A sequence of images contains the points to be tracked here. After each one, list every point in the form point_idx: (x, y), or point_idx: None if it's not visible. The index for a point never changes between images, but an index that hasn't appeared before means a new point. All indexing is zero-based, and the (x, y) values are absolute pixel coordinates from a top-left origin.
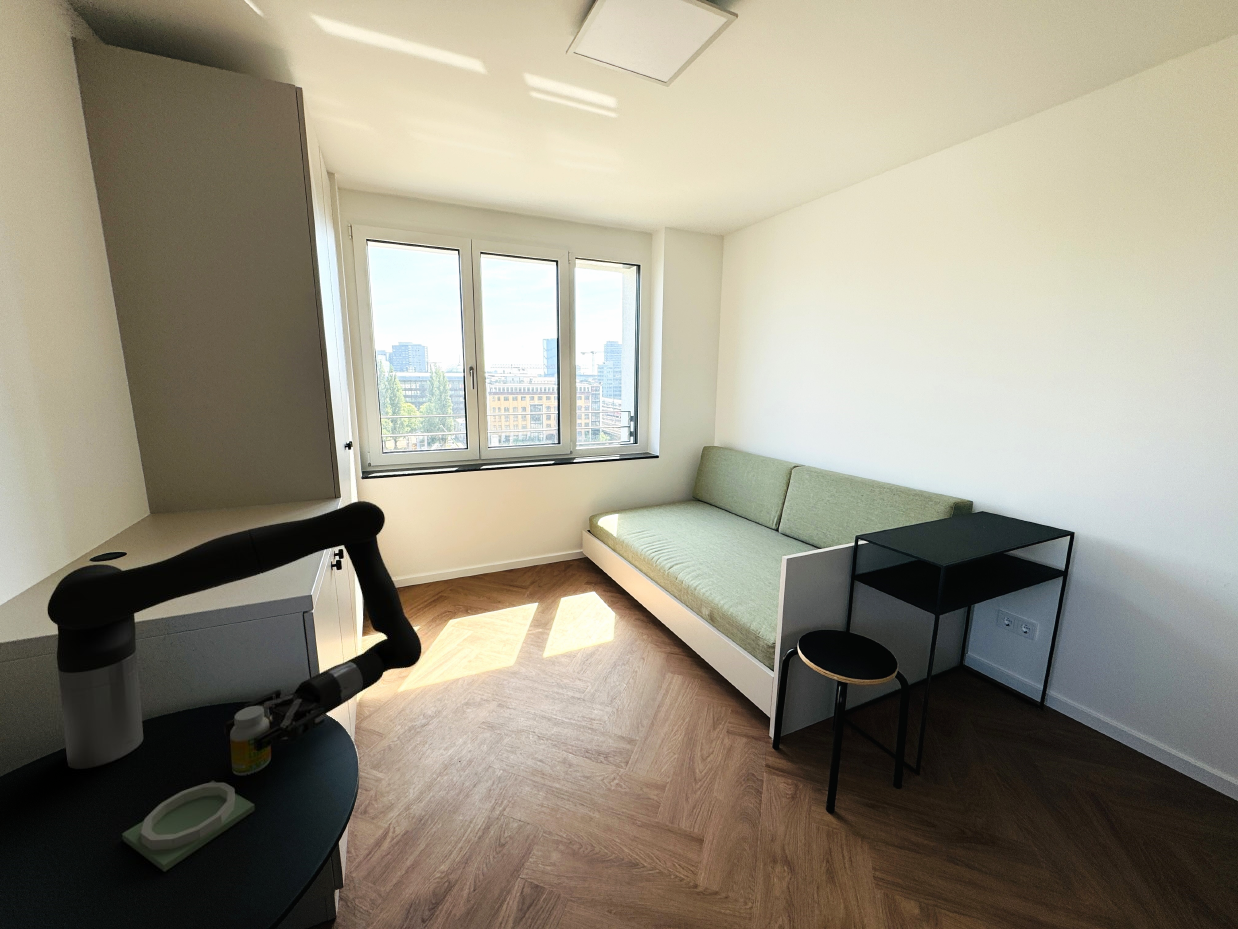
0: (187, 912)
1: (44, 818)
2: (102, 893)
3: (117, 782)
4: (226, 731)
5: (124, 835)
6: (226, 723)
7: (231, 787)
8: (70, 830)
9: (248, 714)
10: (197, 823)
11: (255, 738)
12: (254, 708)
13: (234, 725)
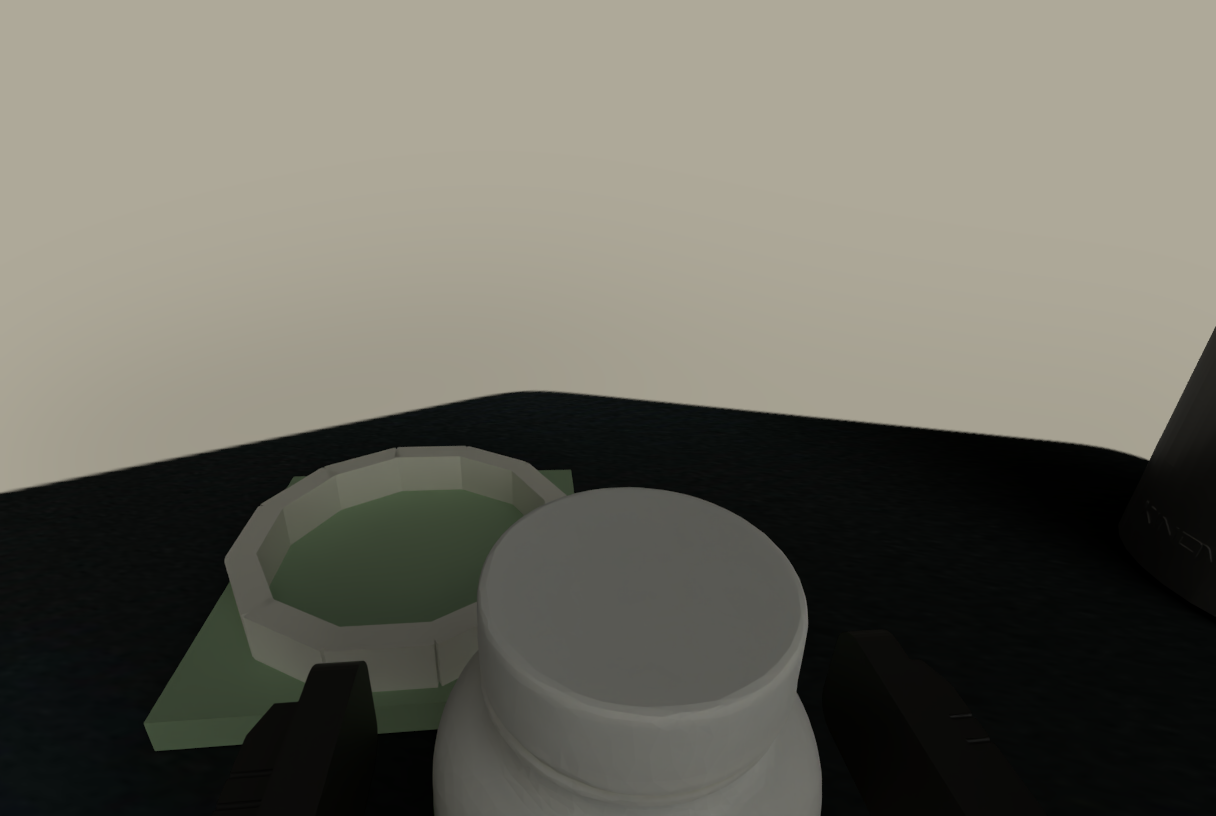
0: (81, 484)
1: (861, 447)
2: (405, 440)
3: (952, 548)
4: (829, 669)
5: (555, 470)
6: (876, 631)
7: (346, 646)
8: (747, 457)
9: (608, 560)
10: (357, 563)
11: (362, 664)
12: (701, 641)
13: (869, 717)
